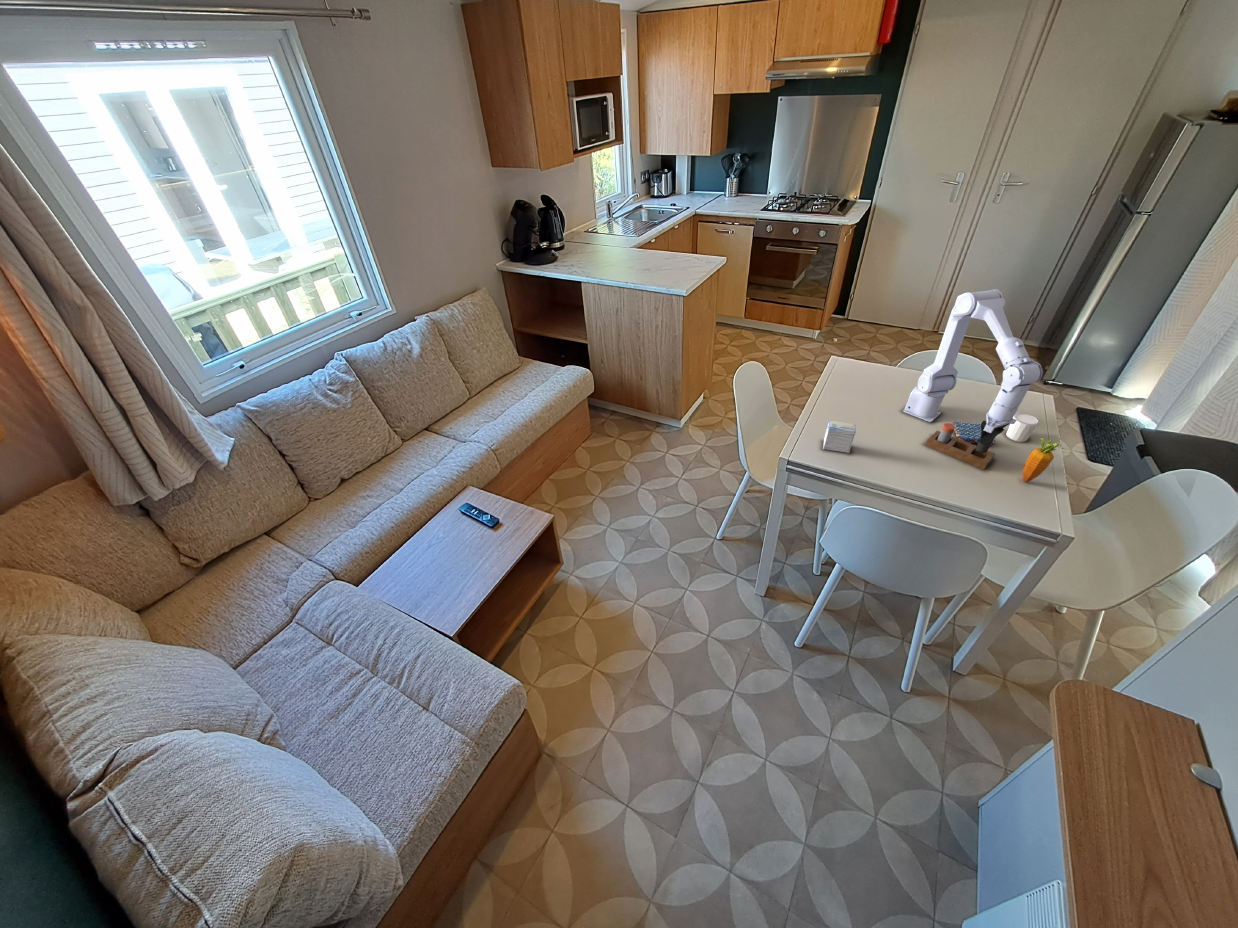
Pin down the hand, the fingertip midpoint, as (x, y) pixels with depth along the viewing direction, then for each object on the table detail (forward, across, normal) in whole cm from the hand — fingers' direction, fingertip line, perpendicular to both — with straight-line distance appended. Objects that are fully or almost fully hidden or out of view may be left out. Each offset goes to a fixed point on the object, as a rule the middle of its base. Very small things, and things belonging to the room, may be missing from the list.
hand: (985, 441), depth 146 cm
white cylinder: (+7, +21, -4) cm, 23 cm away
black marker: (+3, 0, 0) cm, 3 cm away
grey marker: (+7, 0, +10) cm, 13 cm away
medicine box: (+7, -24, +33) cm, 41 cm away
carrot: (+7, -1, -13) cm, 15 cm away
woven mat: (+7, +12, +6) cm, 15 cm away
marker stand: (+7, 0, +5) cm, 9 cm away
